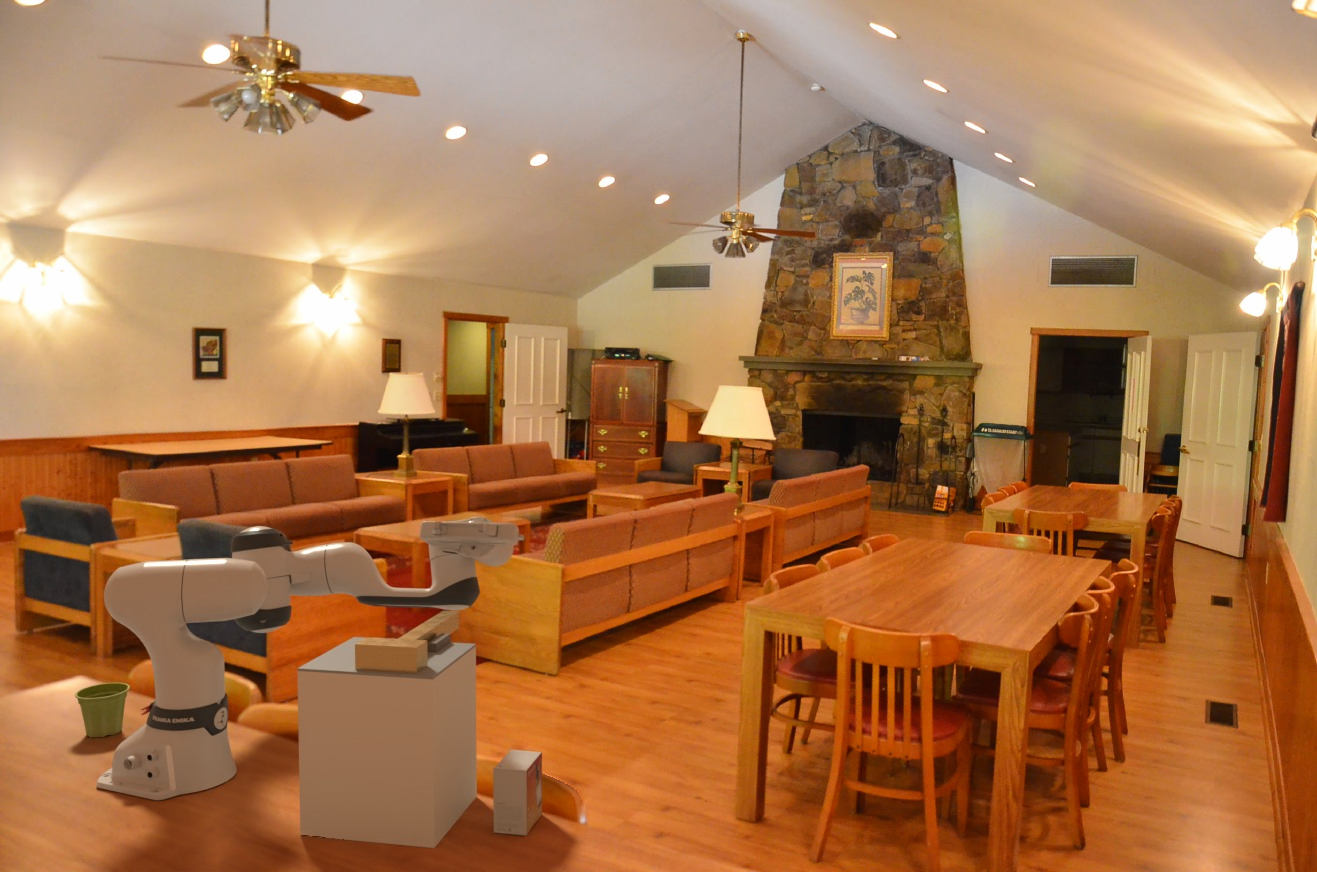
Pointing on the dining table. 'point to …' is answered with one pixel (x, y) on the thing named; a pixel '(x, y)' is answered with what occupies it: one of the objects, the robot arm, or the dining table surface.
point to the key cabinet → (387, 746)
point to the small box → (517, 792)
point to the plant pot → (103, 708)
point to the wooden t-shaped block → (404, 646)
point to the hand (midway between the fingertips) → (458, 525)
